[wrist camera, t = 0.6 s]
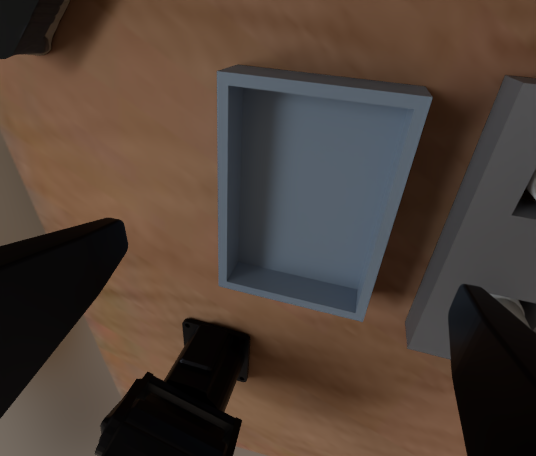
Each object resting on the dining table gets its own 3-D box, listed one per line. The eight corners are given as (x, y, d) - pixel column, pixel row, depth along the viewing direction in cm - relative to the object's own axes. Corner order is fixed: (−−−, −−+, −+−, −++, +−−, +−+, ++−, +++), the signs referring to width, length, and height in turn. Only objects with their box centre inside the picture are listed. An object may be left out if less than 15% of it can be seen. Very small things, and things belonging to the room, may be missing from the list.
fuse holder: (523, 350, 24) (537, 381, 22) (405, 321, 26) (407, 348, 24) (705, 96, 15) (757, 108, 13) (505, 75, 17) (523, 82, 14)
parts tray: (364, 292, 25) (362, 321, 23) (233, 261, 27) (218, 286, 25) (425, 86, 18) (432, 97, 15) (237, 64, 20) (216, 70, 17)
